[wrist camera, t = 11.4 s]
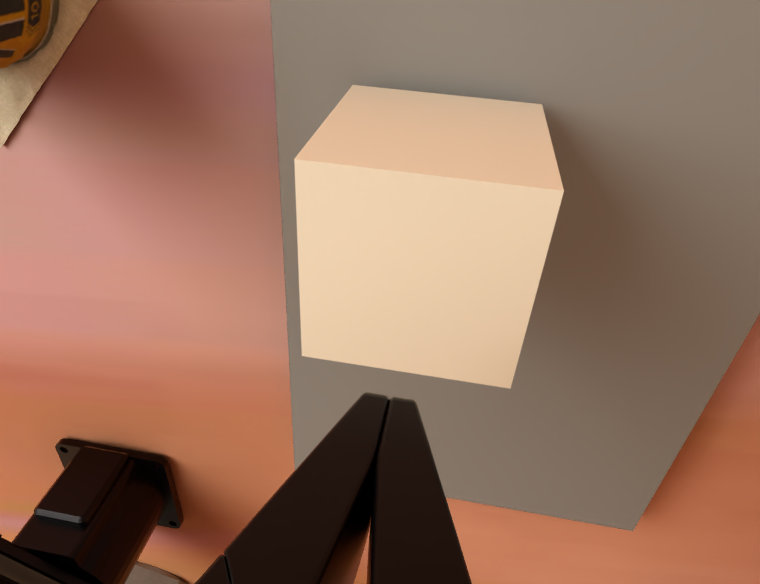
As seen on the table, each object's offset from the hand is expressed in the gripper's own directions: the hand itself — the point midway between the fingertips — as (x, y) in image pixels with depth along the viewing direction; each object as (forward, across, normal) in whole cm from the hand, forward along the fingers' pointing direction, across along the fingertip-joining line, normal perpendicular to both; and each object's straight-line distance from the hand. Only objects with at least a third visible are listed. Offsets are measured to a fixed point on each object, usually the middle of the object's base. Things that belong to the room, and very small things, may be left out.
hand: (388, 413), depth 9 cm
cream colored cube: (+9, 0, 0) cm, 9 cm away
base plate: (+11, -3, +5) cm, 13 cm away
